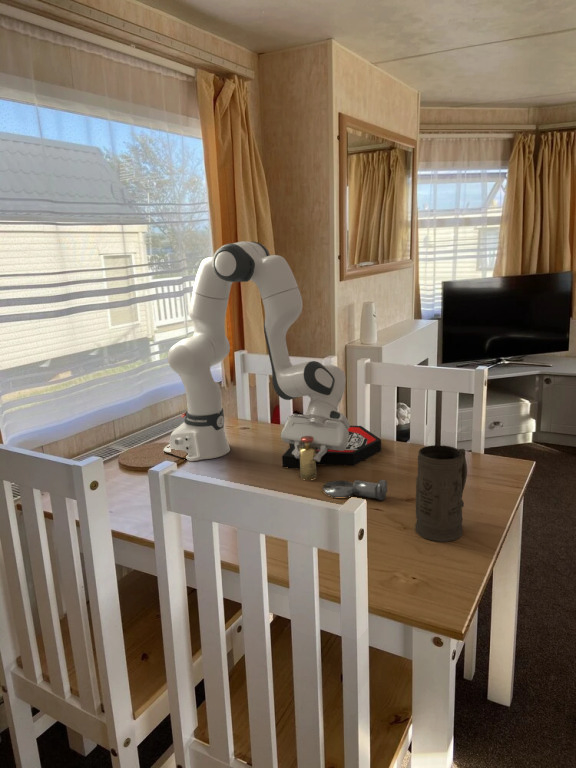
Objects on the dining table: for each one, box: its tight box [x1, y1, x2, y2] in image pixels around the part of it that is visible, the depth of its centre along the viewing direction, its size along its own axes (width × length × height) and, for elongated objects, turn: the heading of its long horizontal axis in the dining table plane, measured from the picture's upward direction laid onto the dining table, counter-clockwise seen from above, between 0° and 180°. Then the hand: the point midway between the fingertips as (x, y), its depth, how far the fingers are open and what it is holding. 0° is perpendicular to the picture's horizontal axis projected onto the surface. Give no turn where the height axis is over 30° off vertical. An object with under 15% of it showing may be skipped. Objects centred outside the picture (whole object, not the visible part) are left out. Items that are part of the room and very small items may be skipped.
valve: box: [299, 436, 317, 480], centre depth 165 cm, size 5×5×12 cm
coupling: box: [322, 479, 388, 501], centre depth 154 cm, size 17×9×5 cm, turn 61°
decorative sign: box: [281, 425, 382, 470], centre depth 186 cm, size 34×4×30 cm
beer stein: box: [414, 444, 468, 543], centre depth 133 cm, size 15×11×20 cm
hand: (306, 459), depth 164 cm, fingers closed on valve, 5 cm apart
